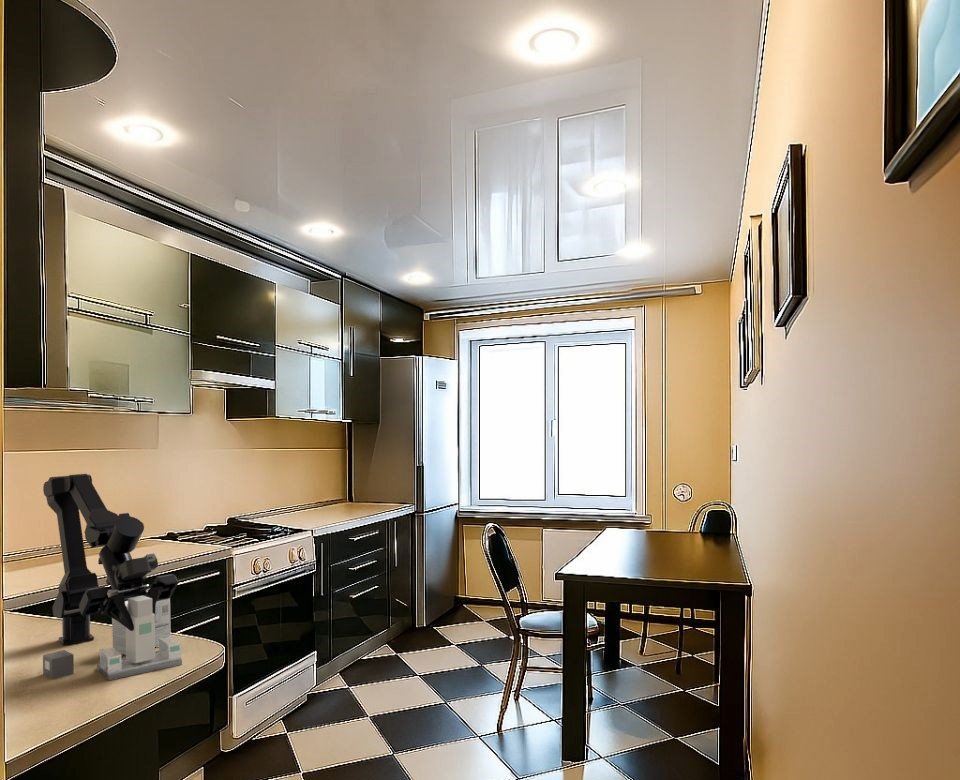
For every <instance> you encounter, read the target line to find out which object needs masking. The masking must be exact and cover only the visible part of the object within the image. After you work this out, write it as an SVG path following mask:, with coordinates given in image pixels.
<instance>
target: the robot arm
mask: <svg viewBox="0 0 960 780" xmlns="http://www.w3.org/2000/svg"><path fill="white" fill-rule="evenodd" d="M42 491H43V494H44V495H43V496H45V499H46V502H47V505H48V507H49V508H50V509H51V510H52V511H53V512H54V513H55V514H56V520H57V526H58V534H59V540H60V541H59V542H60V547H61V554H62V556H61V557H62V562H63V563H62V564H63V571H64V574H63V577H62V578H61V581H60V583H59V584H58V593H57V595H56V598H55V600H54V602H53V605H52V614H53V617H55V618H58V619H62V630H61V631H62V636H60V637H58V641H59V642H60V643H61V644H62V645H63V646H68V645H71V644H76V643H83V642H86V641H88V642H89V641H92V640H95V637H94V635H93V634H92V633H91V616H92V615H96V614H98V612H99V611H100V609H101V606H102V611H101V615H102V616H108V617H110V618H111V619H112V618H113V619H115V620H117V621H118V622H119V623H121V624H122V625H123V626H125V627H126V628H127V629H129V630H130V631H133V630H134V625H133V622H132V619H131V617H130V614H129V612H128V610H127V608H126V605H125V600H128V598H132V597H137V596H142V595H143V596H146V597H149V598H152V613H153V614H155V611H156V602H157V601H160V600H165V599H169V598H170V599H171V597H172V596H173V594H174V592H175V591H176V588H177V587H178V585H179V580H178V578H177V576H176V574H174V573H172V574H171V573H168V574H165V575H160V576H156V577H155V579H154V581H153V583H152V584H143V583H144V582H146V581H147V578H148V577H147V575H148V574H149V573H151V572H152V571H154V570H156V569H157V568H158V567H159V561H158V558H157V556H156V554H155V553H149V554H145V556H143V557H137V558H133V557H132V554H131V552H133V551H134V550H135V549H136V547H137V545H138V543H139V542H140V541H139V540H140V538H141V537H142V534H143V532H144V530H145V524H144V523H143V522H142V521H141V520H140V519H138V518H137V517H134V516H130V513H129V512H126V513H125V512H124V513H119V514H117V513H115V512H113V511H111V510H109V509H108V508H107V507H106V505H105V503H104V501H103V500H102V498H101V496H100V494H99V493H98V491H97V489H96V487H95V486H94V484H93V479H92V476H91V474H87V473H78V474H77V473H76V474H69V475H60V476H50V477H49V479H48V480H47V481H45V482H44V484H43V489H42ZM80 513H81V515H82V517H83V520H84V521H85V523H86V526H85V528H84V529H85V530H84V537H85V540H86V543H87V544H88V545H89V546H90V547H91V548H98V547H99V548H100V547H102V548H101V549H100V551H99V553H98V556H99V557H98V561H97V562H98V563H97V564H98V565H102V566H103V569H104V571H105V572H104V573H105V574H106V577H107V578H106V580H105V582H106V585H109V586H110V587H111V589H108V587H107V586H104V585H103V586H99V582H98V581H99V580H98V575H97V574H96V572H92V571H91V570H90V569H88V566H87V564H88V563H87V557H86V551H85V546H84V545H85V543H84V537H83V532H82V531H83V529H82V522H81V517H80ZM100 604H101V605H100Z"/></svg>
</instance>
